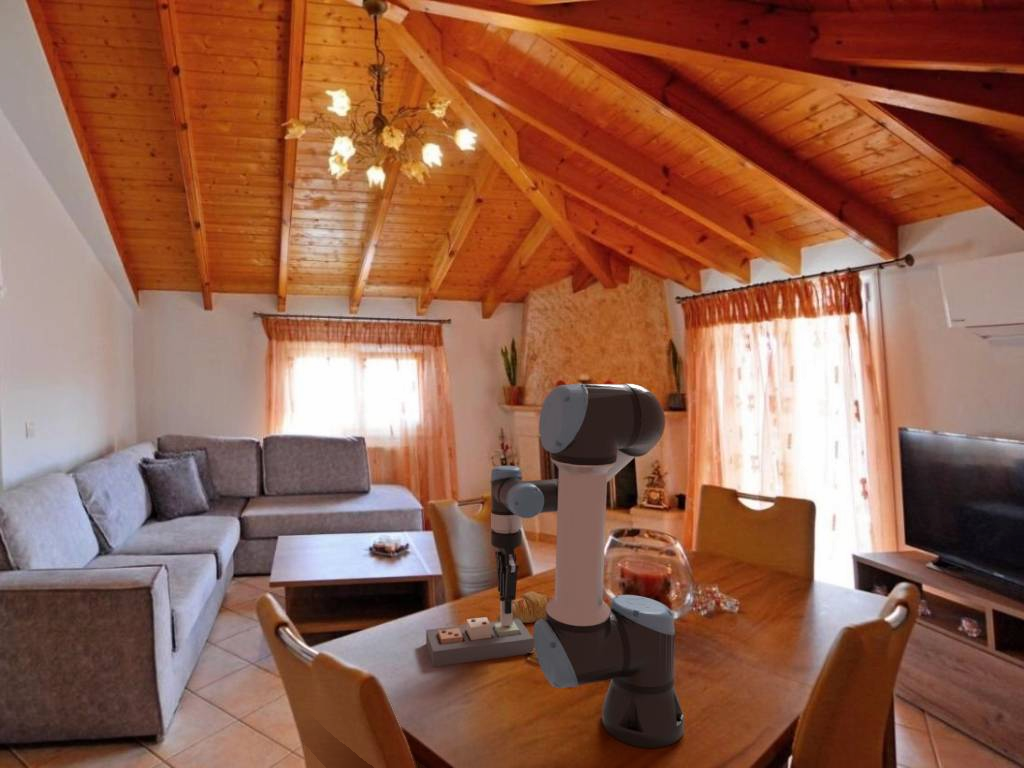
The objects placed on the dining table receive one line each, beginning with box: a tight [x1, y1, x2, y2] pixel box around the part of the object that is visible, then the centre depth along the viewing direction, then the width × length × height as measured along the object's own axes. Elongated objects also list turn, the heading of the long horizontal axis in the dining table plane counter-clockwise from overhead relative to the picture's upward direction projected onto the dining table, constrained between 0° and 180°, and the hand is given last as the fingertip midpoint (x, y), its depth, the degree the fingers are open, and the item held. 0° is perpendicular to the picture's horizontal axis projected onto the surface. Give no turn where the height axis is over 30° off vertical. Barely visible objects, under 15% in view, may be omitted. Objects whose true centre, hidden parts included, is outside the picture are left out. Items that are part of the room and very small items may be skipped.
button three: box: [438, 628, 463, 645], centre depth 140 cm, size 5×5×3 cm
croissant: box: [496, 590, 554, 624], centre depth 162 cm, size 21×10×8 cm
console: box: [425, 619, 534, 668], centre depth 142 cm, size 12×24×4 cm, turn 106°
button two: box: [466, 616, 491, 640], centre depth 142 cm, size 5×5×3 cm
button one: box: [494, 621, 519, 637], centre depth 144 cm, size 5×5×3 cm
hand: (506, 624), depth 144 cm, fingers closed
